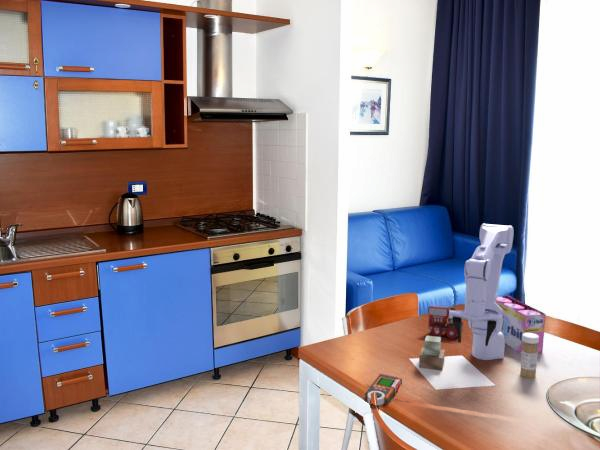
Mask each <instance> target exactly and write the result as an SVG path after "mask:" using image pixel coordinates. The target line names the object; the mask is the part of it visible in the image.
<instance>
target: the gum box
mask: <svg viewBox="0 0 600 450" xmlns="http://www.w3.org/2000/svg"><path fill="white" fill-rule="evenodd" d="M496 304H497V305H498V306H500V307H501V308H502V310H503V325H502V330H501V332H502V333H503V335H504V338H505V344H506V345H508V346H509V347H511V348H512V349H514V350H515V351H517V352H519V353H520V354H521V353H522V335H523V334H524V333H534V334H537V335H538V336H539V342H538V349H537V352H538V354H540V353H543V349H544V337H545V328H546V327H545V325H546V313H544V312H543V311H541V310H539V309H537V308H534V307H532V306H530V305H528V304H525V303H523V302H522V301H520V300H518V299H516V298H514V297H512V296H509V295H507V294H503V295H502V296H497V299H496ZM492 313H493V312H492Z"/></svg>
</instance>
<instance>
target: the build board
mask: <svg viewBox="0 0 600 450" xmlns="http://www.w3.org/2000/svg"><path fill="white" fill-rule="evenodd" d="M408 360H409V361H410V362H411V364H413V365H414V367H415V368H416V369H417V370H418V371H419V373H421V375H422V376H423V377H424V378H425V379H426V380H427V381H428V383H429V384H430V385H431V386H432V387H433V389H434V390H438V391H439V390H453V389H465V388H479V387H493V386H496V384H495V383H494V382H493V381H491V380H490V379H489V378H488V377H487V376H485V374H483V373H482V372H481V371H480V370H479V369H478V368H476V367H475V365H473V364H472V363H471V362H470V361H469V360H468V359H466V358H465V357H464V356H463V355H451V356H450V355H448V356H446V355H445V359H444V366H443V370H442V371H441V370H434V369H426V368H419V357H418V358H417V357H415V358H408Z"/></svg>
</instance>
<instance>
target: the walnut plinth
mask: <svg viewBox="0 0 600 450" xmlns="http://www.w3.org/2000/svg"><path fill="white" fill-rule="evenodd" d="M445 357H446V350H445V349H442V348H441V350H440V355H439V356H433V355H425V354H424V347H423V346H422V347H421V350H420V353H419V357H418V358H419V368H426V369H434V370H441V371H442V370H443V366H444V359H445Z"/></svg>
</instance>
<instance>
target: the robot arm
mask: <svg viewBox="0 0 600 450" xmlns="http://www.w3.org/2000/svg"><path fill="white" fill-rule="evenodd" d="M514 234H515V233H514V227H513V226H512V225H511V224H510V225H504V224H503V225H502V224H490V223H485V222H484V223H482V224H481V225H480V228H479V241H480V245H478V246H477V247H476V248H475V250H474V252H473V254H472V256H471V258H469V259H467V260H466V261H465V264H464V268H463V269H464V271H463V272H464V273H463V275H464V284H465V299H464V310H456V311H455V310H450V309H449V317H448V318H453V321H452V322H453V325H454V327H455V329H456V332H457V336H456V337H457V342H458V343H460V344H461V343H462V333H461V322H463V320H468V327H469V328H470V329H471V332H472V334H473V335H472V350H471V355H472V357H474V358H475V359H478V360H481V361H491V360H496V359H497V360H498V359H504V358H505V348H506V345H505V344H506V343H505V338H504V335H503V333H502V332H501V330H502V325H503V310H502V308H501V307H500V306H498V305H497V304H496V299H497V297H498V292H499V285H500V281H501V272H502V266H503V261H504V258H505V255H507V254H510V253H511V250H512V248H513V241H514ZM492 312H493V313H492Z"/></svg>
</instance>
